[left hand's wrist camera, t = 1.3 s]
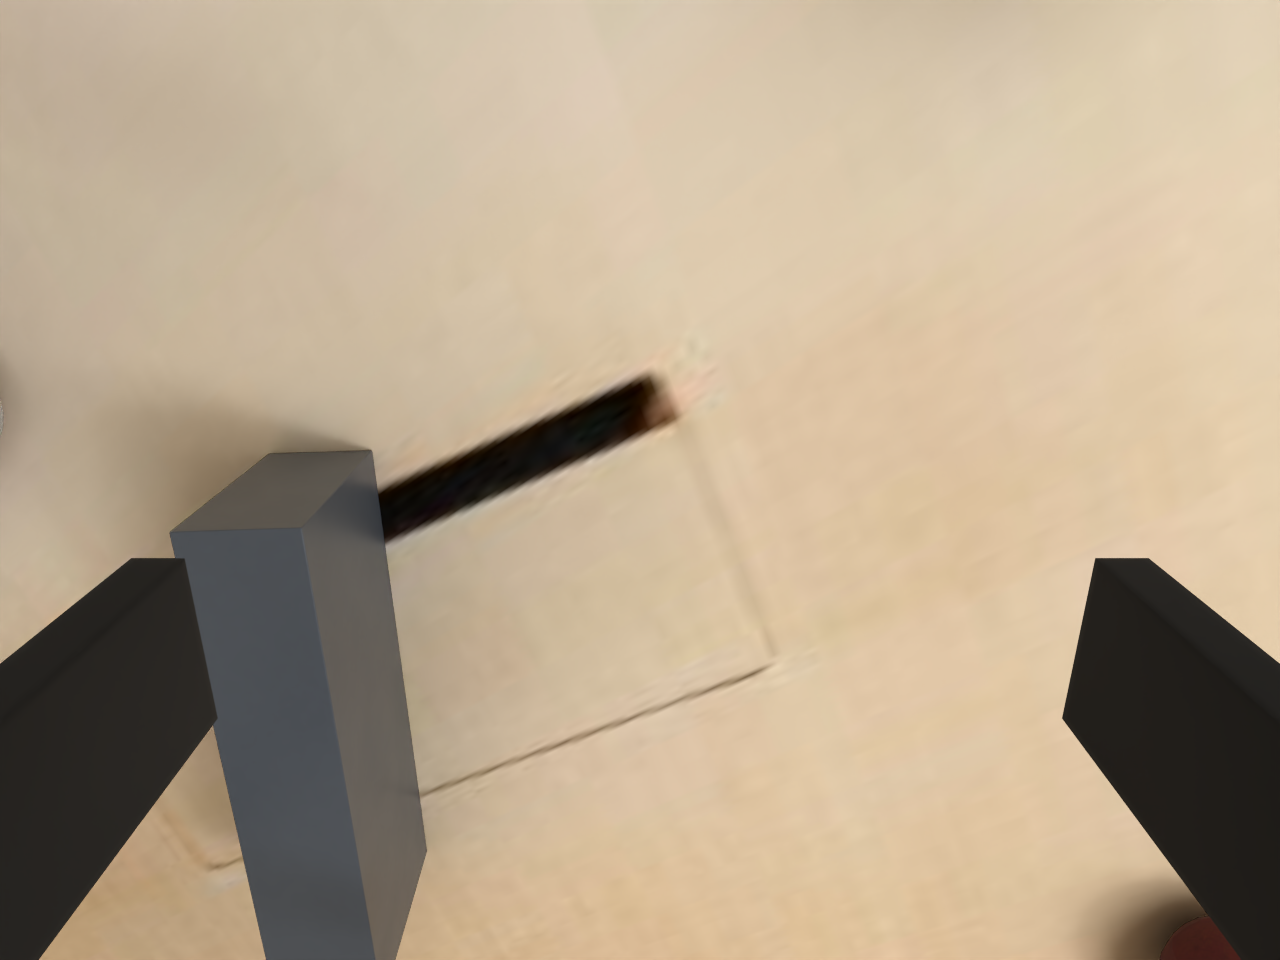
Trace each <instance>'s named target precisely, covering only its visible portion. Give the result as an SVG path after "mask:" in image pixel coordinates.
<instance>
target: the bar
mask: <svg viewBox="0 0 1280 960" xmlns="http://www.w3.org/2000/svg"><path fill="white" fill-rule="evenodd" d="M170 537H171V541H172V546H173V550H174V555H175V558H185V563H186V568H187V572H188V577H189V582H190V587H191V592H192V596H193V601H194V606H195V611H196V616H197V621H198V625H199V630H200V635H201V640H202V645H203V649H204V654H205V659H206V664H207V669H208V674H209V678H210V683H211V688H212V693H213V698H214V702H215V707H216V712H217V717H218V719H217V720H216V721H215V723H214V724H213V727H214V731H215V736H216V740H217V745H218V749H219V753H220V758H221V762H222V767H223V771H224V775H225V780H226V784H227V789H228V793H229V798H230V802H231V806H232V811H233V815H234V820H235V824H236V829H237V833H238V837H239V842H240V846H241V851H242V855H243V859H244V864H245V868H246V873H247V877H248V882H249V886H250V890H251V895H252V899H253V904H254V908H255V912H256V917H257V921H258V926H259V930H260V935H261V939H262V943H263V948H264V952H265V957H266V960H395V959H396V956H397V952H398V949H399V945H400V942H401V939H402V935H403V932H404V928H405V925H406V921H407V918H408V914H409V911H410V908H411V904H412V901H413V897H414V894H415V890H416V887H417V883H418V880H419V877H420V873H421V870H422V866H423V863H424V859H425V856H426V852H427V849H426V841H425V834H424V827H423V820H422V812H421V805H420V798H419V790H418V783H417V776H416V769H415V761H414V754H413V747H412V739H411V732H410V725H409V717H408V710H407V703H406V696H405V688H404V681H403V674H402V666H401V659H400V652H399V645H398V637H397V630H396V623H395V615H394V608H393V601H392V593H391V586H390V579H389V572H388V564H387V557H386V550H385V542H384V535H383V528H382V521H381V513H380V506H379V499H378V491H377V484H376V477H375V469H374V462H373V455H372V451H371V450H368V451H337V452H305V453H274V454H268V455H267V456H265V457H264V458H263V459H262V460H260V461H259V462H258V463H256V464H255V465H254V466H253V467H251V468H250V469H249V470H248V471H246V472H245V473H244V474H243V475H241V476H240V477H239V478H238V479H236V480H235V481H234V482H232V483H231V484H230V485H229V486H227V487H226V488H225V489H224V490H222V491H221V492H220V493H219V494H217V495H216V496H215V497H213V498H212V499H211V500H210V501H208V502H207V503H206V504H205V505H203V506H202V507H201V508H200V509H198V510H197V511H196V512H194V513H193V514H192V515H191V516H189V517H188V518H187V519H186V520H184V521H183V522H182V523H181V524H179V525H178V526H177V527H176V528H174V529H173V530H172V531H170Z"/></svg>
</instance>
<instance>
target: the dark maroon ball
mask: <svg viewBox="0 0 1280 960" xmlns="http://www.w3.org/2000/svg"><path fill="white" fill-rule="evenodd" d="M1160 960H1241V959H1240V957H1239V956H1238V954H1237V953H1236V952H1235V950H1234V949H1233V948H1232V946H1231V945H1230V944H1229V942H1228V941H1227V940H1226V938H1225V937H1224V936H1223V934H1222V933H1221V932H1220V930H1219V929H1218V928H1217V926H1216V925H1215V924H1214V922H1213V921H1212V919H1211V918H1210V917H1209V916H1206V917H1199V918H1196V919H1194V920H1192V921H1190V922H1187V923H1185V924H1184V925H1182V926H1181V927H1180V928H1179V929H1178V930H1177V931H1175V932H1174V933H1173V935H1172V936H1171V937H1170V939H1169V940H1168V942H1167V944H1166V945H1165V947H1164V949H1163V951H1162V952H1161V956H1160Z"/></svg>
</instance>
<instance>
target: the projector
mask: <svg viewBox="0 0 1280 960" xmlns="http://www.w3.org/2000/svg"><path fill="white" fill-rule="evenodd" d="M3 419H4V414H3V409H2V404H1V401H0V437H1V433H2V429H3Z"/></svg>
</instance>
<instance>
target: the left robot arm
mask: <svg viewBox="0 0 1280 960" xmlns="http://www.w3.org/2000/svg"><path fill="white" fill-rule="evenodd" d="M217 719H218V717H217V712H216V707H215V702H214V698H213V693H212V688H211V683H210V678H209V674H208V669H207V664H206V659H205V654H204V649H203V645H202V640H201V635H200V630H199V625H198V621H197V616H196V611H195V606H194V601H193V596H192V592H191V587H190V582H189V577H188V572H187V568H186V563H185V558H131V559H130V560H129V561H127V562H126V563H125V564H124V565H123V566H121V567H120V568H119V569H118V570H116V571H115V572H114V573H113V574H111V575H110V576H109V577H108V578H106V579H105V580H104V581H103V582H101V583H100V584H99V585H98V586H96V587H95V588H94V589H93V590H91V591H90V592H89V593H88V594H86V595H85V596H84V597H83V598H81V599H80V600H79V601H78V602H76V603H75V604H74V605H73V606H71V607H70V608H69V609H68V610H67V611H65V612H64V613H63V614H62V615H60V616H59V617H58V618H57V619H55V620H54V621H53V622H52V623H50V624H49V625H48V626H47V627H45V628H44V629H43V630H42V631H40V632H39V633H38V634H37V635H35V636H34V637H33V638H32V639H30V640H29V641H28V642H27V643H25V644H24V645H23V646H22V647H20V648H19V649H18V650H17V651H16V652H14V653H13V654H12V655H11V656H9V657H8V658H7V659H6V660H4V661H3V662H2V663H1V664H0V960H39V959H40V957H41V956H42V954H43V953H44V952H45V950H46V949H47V948H48V946H49V945H50V944H51V942H52V941H53V940H54V938H55V937H56V936H57V934H58V933H59V932H60V930H61V929H62V928H63V926H64V925H65V924H66V922H67V921H68V919H69V918H70V917H71V915H72V914H73V913H74V911H75V910H76V909H77V907H78V906H79V905H80V903H81V902H82V901H83V899H84V898H85V897H86V895H87V894H88V893H89V891H90V890H91V888H92V887H93V886H94V884H95V883H96V882H97V880H98V879H99V878H100V876H101V875H102V874H103V872H104V871H105V870H106V868H107V867H108V866H109V864H110V863H111V862H112V860H113V859H114V857H115V856H116V855H117V853H118V852H119V851H120V849H121V848H122V847H123V845H124V844H125V843H126V841H127V840H128V839H129V837H130V836H131V835H132V833H133V832H134V831H135V829H136V828H137V827H138V825H139V824H140V822H141V821H142V820H143V818H144V817H145V816H146V814H147V813H148V812H149V810H150V809H151V808H152V806H153V805H154V804H155V802H156V801H157V800H158V798H159V797H160V796H161V794H162V793H163V791H164V790H165V789H166V787H167V786H168V785H169V783H170V782H171V781H172V779H173V778H174V777H175V775H176V774H177V773H178V771H179V770H180V769H181V767H182V766H183V765H184V763H185V762H186V761H187V759H188V758H189V756H190V755H191V754H192V752H193V751H194V750H195V748H196V747H197V746H198V744H199V743H200V742H201V740H202V739H203V738H204V736H205V735H206V734H207V732H208V731H209V730H210V728H211V727H212V725H213V724H214V723H215V721H216V720H217ZM1062 719H1063V720H1064V721H1065V723H1066V724H1067V725H1068V727H1069V728H1070V730H1071V731H1072V732H1073V734H1074V735H1075V736H1076V738H1077V739H1078V740H1079V742H1080V743H1081V744H1082V746H1083V747H1084V748H1085V750H1086V751H1087V752H1088V754H1089V755H1090V756H1091V758H1092V759H1093V761H1094V762H1095V763H1096V765H1097V766H1098V767H1099V769H1100V770H1101V771H1102V773H1103V774H1104V775H1105V777H1106V778H1107V779H1108V781H1109V782H1110V783H1111V785H1112V786H1113V787H1114V789H1115V790H1116V791H1117V793H1118V794H1119V796H1120V797H1121V798H1122V800H1123V801H1124V802H1125V804H1126V805H1127V806H1128V808H1129V809H1130V810H1131V812H1132V813H1133V814H1134V816H1135V817H1136V818H1137V820H1138V821H1139V822H1140V824H1141V825H1142V827H1143V828H1144V829H1145V831H1146V832H1147V833H1148V835H1149V836H1150V837H1151V839H1152V840H1153V841H1154V843H1155V844H1156V845H1157V847H1158V848H1159V849H1160V851H1161V852H1162V853H1163V855H1164V856H1165V857H1166V859H1167V860H1168V862H1169V863H1170V864H1171V866H1172V867H1173V868H1174V870H1175V871H1176V872H1177V874H1178V875H1179V876H1180V878H1181V879H1182V880H1183V882H1184V883H1185V884H1186V886H1187V887H1188V888H1189V890H1190V891H1191V893H1192V894H1193V895H1194V897H1195V898H1196V899H1197V901H1198V902H1199V903H1200V905H1201V906H1202V907H1203V909H1204V910H1205V911H1206V913H1207V914H1208V915H1209V917H1210V918H1211V919H1212V921H1213V922H1214V924H1215V925H1216V926H1217V928H1218V929H1219V930H1220V932H1221V933H1222V934H1223V936H1224V937H1225V938H1226V940H1227V941H1228V942H1229V944H1230V945H1231V946H1232V948H1233V949H1234V950H1235V952H1236V953H1237V954H1238V956H1239V957H1240V959H1241V960H1280V664H1279V663H1278V662H1277V661H1276V660H1274V659H1273V658H1272V657H1271V656H1269V655H1268V654H1267V653H1266V652H1264V651H1263V650H1262V649H1261V648H1260V647H1258V646H1257V645H1256V644H1255V643H1253V642H1252V641H1251V640H1250V639H1248V638H1247V637H1246V636H1245V635H1243V634H1242V633H1241V632H1240V631H1238V630H1237V629H1236V628H1235V627H1233V626H1232V625H1231V624H1230V623H1228V622H1227V621H1226V620H1225V619H1223V618H1222V617H1221V616H1220V615H1218V614H1217V613H1216V612H1215V611H1213V610H1212V609H1211V608H1210V607H1209V606H1207V605H1206V604H1205V603H1204V602H1202V601H1201V600H1200V599H1199V598H1197V597H1196V596H1195V595H1194V594H1192V593H1191V592H1190V591H1189V590H1187V589H1186V588H1185V587H1184V586H1182V585H1181V584H1180V583H1179V582H1177V581H1176V580H1175V579H1174V578H1172V577H1171V576H1170V575H1169V574H1167V573H1166V572H1165V571H1164V570H1162V569H1161V568H1160V567H1159V566H1157V565H1156V564H1155V563H1154V562H1153V561H1151V560H1150V559H1149V558H1095V563H1094V567H1093V572H1092V577H1091V582H1090V587H1089V592H1088V596H1087V601H1086V606H1085V611H1084V616H1083V621H1082V625H1081V630H1080V635H1079V640H1078V645H1077V649H1076V654H1075V659H1074V664H1073V669H1072V674H1071V678H1070V683H1069V688H1068V693H1067V698H1066V702H1065V707H1064V712H1063V717H1062Z"/></svg>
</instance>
